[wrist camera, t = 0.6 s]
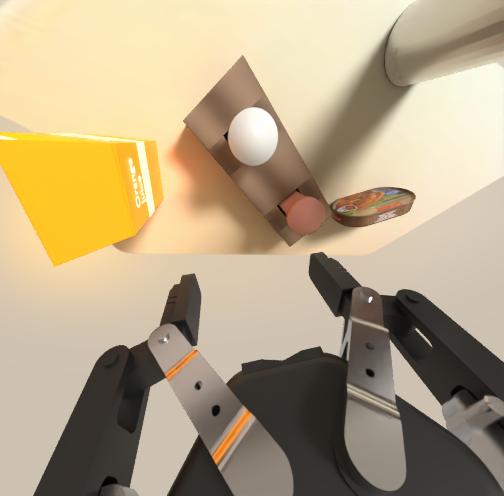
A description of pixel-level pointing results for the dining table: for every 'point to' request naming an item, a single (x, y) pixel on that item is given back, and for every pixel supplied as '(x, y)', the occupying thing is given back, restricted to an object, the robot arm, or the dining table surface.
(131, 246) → the dining table surface
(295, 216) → the brick plunger
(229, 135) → the white rounded piece
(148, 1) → the dining table surface
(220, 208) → the dining table surface
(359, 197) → the tin
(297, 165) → the block
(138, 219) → the orange juice
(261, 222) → the dining table surface
